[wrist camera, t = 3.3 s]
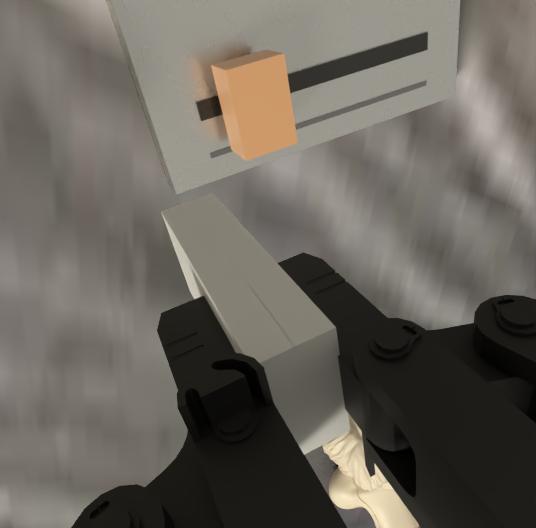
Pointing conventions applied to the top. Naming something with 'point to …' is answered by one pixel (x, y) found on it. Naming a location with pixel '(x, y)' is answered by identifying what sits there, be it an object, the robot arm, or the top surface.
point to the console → (297, 64)
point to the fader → (256, 103)
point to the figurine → (363, 483)
